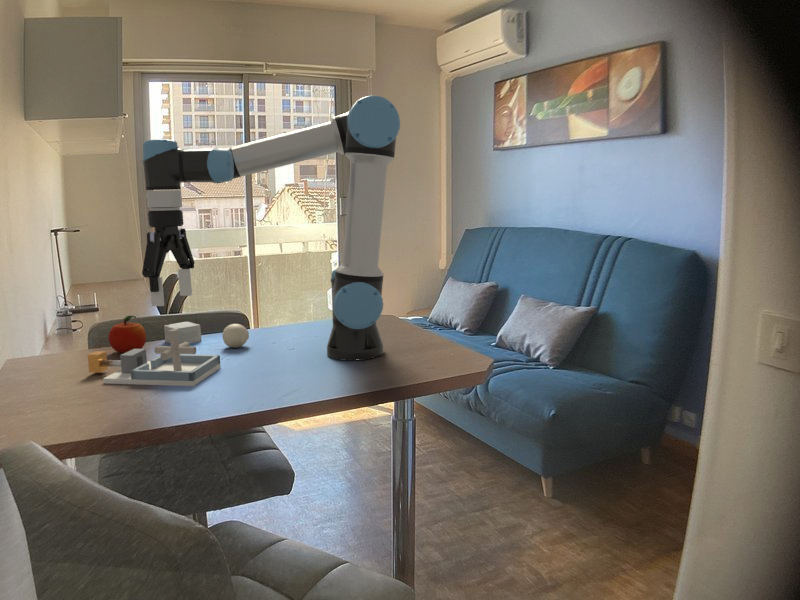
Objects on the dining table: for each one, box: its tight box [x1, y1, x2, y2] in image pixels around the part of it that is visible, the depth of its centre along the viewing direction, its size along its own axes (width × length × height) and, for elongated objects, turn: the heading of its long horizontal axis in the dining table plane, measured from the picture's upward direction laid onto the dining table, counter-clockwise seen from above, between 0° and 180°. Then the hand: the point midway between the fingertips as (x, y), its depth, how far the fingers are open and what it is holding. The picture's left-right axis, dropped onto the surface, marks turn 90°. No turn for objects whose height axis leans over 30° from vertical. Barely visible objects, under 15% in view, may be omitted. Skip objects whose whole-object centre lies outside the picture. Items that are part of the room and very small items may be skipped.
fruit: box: [108, 315, 147, 355], centre depth 174 cm, size 10×10×10 cm
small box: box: [163, 321, 202, 344], centre depth 186 cm, size 8×8×5 cm
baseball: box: [222, 323, 250, 349], centre depth 178 cm, size 7×7×7 cm
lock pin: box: [87, 350, 121, 374], centre depth 153 cm, size 11×3×4 cm, turn 82°
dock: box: [102, 348, 222, 387], centre depth 152 cm, size 22×15×6 cm
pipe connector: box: [153, 329, 197, 371], centre depth 151 cm, size 10×10×10 cm
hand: (172, 300), depth 149 cm, fingers open, 13 cm apart
